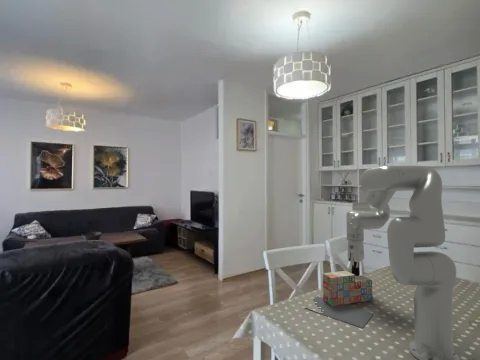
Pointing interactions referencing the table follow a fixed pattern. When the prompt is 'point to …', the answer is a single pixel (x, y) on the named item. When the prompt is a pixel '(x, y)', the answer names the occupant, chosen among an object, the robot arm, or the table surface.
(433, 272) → the robot arm
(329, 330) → the table surface
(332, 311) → the mat
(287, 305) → the table surface
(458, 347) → the table surface
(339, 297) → the stack of blocks
